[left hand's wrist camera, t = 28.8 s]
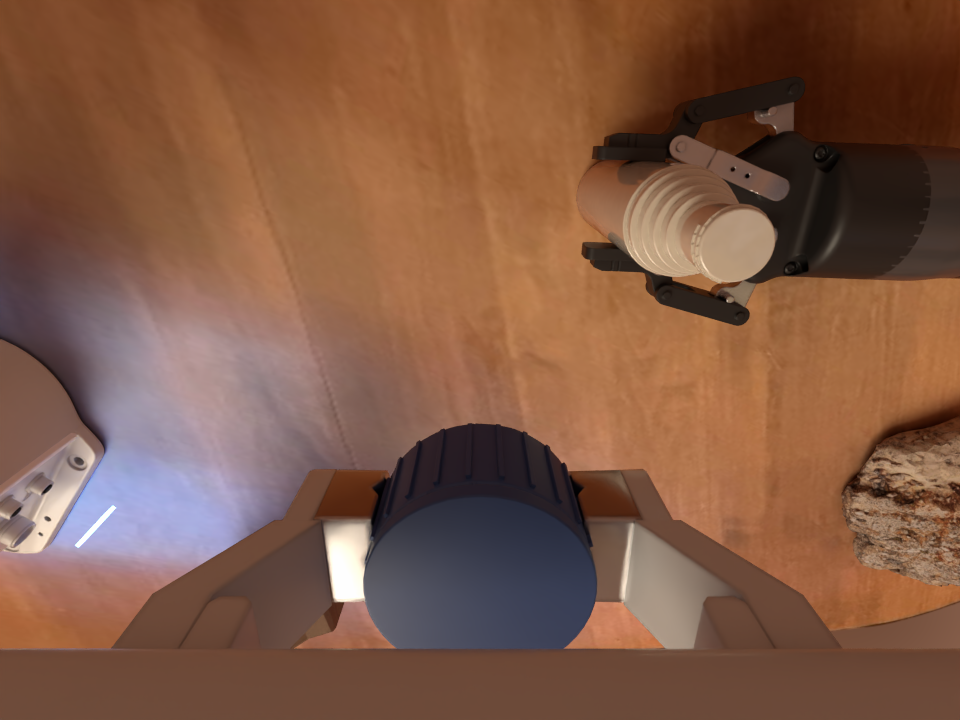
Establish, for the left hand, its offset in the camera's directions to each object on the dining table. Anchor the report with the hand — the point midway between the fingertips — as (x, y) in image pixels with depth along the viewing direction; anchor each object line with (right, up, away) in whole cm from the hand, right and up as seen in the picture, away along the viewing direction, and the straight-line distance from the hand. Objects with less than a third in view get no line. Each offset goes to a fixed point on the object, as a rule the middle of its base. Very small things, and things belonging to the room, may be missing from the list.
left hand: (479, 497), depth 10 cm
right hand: (+6, +12, +20) cm, 24 cm away
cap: (0, -1, -2) cm, 2 cm away
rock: (+37, -9, +35) cm, 51 cm away
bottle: (+9, +14, +26) cm, 31 cm away
